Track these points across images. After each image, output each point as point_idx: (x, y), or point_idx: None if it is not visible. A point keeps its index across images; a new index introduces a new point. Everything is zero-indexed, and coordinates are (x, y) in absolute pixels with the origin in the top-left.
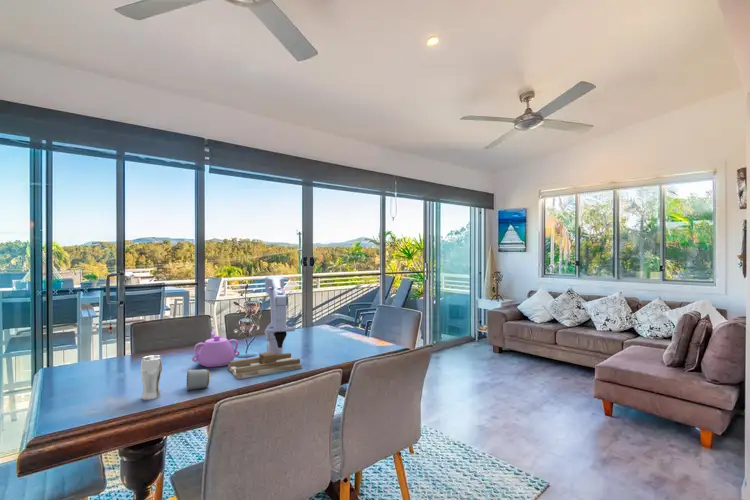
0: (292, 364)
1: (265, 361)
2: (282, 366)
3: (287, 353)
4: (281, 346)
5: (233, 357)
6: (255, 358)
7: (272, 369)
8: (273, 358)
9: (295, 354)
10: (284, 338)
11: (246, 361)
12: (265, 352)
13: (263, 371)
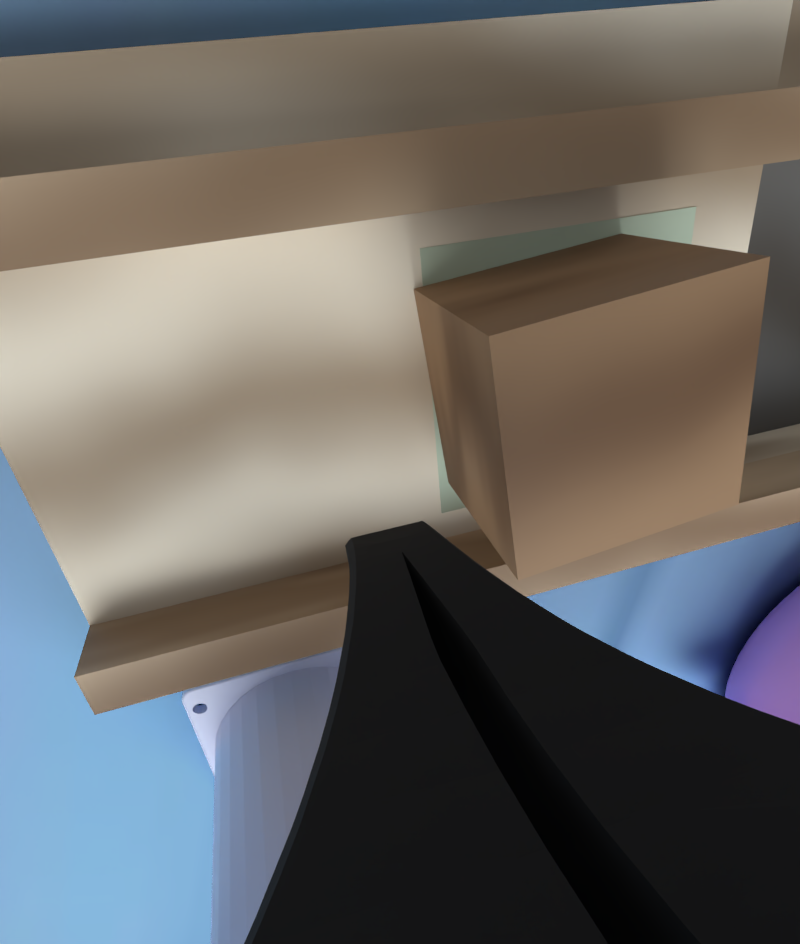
0: (87, 156)
1: (660, 248)
2: (329, 99)
3: (150, 680)
4: (369, 544)
5: (796, 650)
6: None
7: (543, 18)
8: (519, 295)
9: (18, 834)
10: (318, 784)
11: (770, 480)
12: (633, 530)
13: (696, 5)
